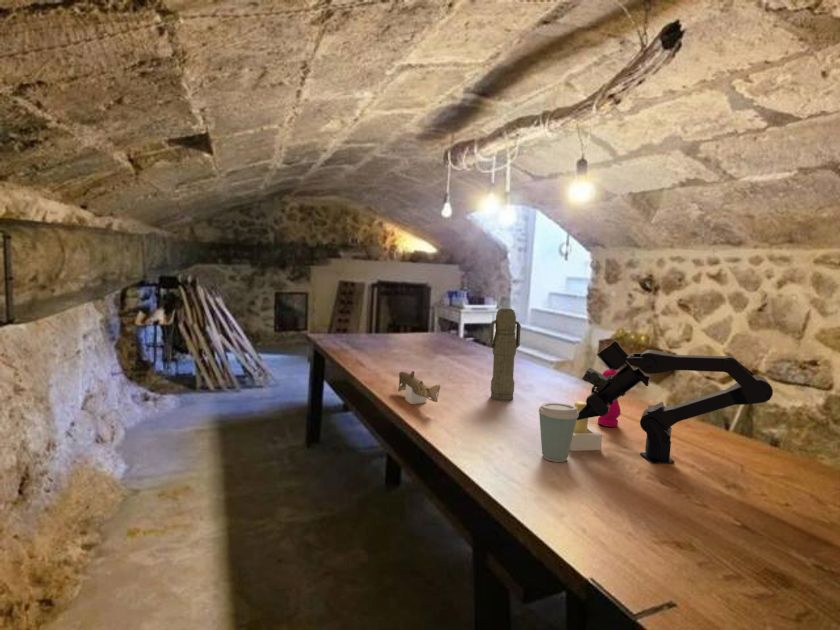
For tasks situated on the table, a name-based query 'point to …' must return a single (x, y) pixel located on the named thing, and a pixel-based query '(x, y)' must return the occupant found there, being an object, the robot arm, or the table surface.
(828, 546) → the table surface
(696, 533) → the table surface
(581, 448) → the socket
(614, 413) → the pepper mill
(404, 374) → the wood carving
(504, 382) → the thermos
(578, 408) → the peg
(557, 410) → the disposable coffee cup
